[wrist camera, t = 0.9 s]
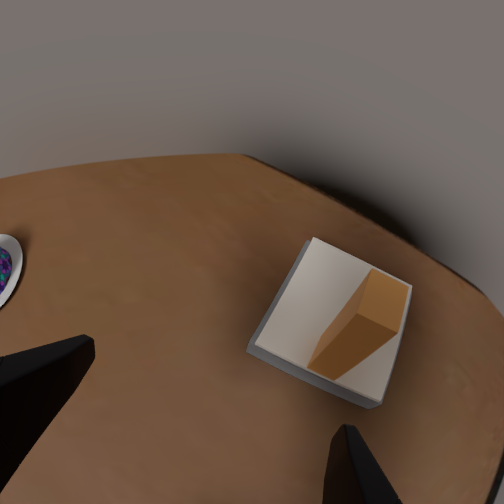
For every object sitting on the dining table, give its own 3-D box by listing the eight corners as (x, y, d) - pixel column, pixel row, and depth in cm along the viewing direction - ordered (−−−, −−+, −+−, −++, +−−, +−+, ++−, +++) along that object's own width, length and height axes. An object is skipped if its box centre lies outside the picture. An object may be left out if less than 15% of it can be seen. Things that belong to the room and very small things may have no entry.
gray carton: (368, 409, 23) (381, 404, 21) (246, 352, 25) (248, 342, 23) (401, 303, 29) (412, 292, 27) (301, 254, 32) (307, 239, 30)
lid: (377, 402, 21) (460, 362, 12) (254, 344, 23) (276, 273, 15) (409, 288, 27) (466, 220, 19) (312, 240, 30) (343, 156, 22)
